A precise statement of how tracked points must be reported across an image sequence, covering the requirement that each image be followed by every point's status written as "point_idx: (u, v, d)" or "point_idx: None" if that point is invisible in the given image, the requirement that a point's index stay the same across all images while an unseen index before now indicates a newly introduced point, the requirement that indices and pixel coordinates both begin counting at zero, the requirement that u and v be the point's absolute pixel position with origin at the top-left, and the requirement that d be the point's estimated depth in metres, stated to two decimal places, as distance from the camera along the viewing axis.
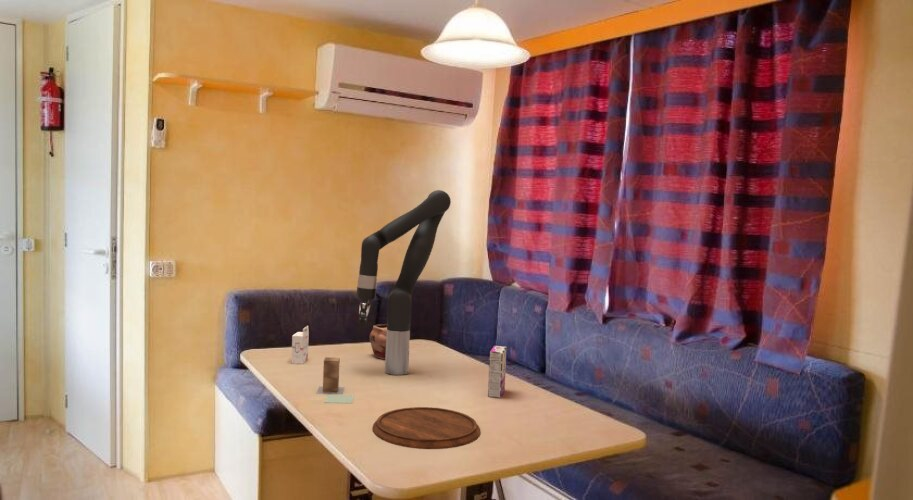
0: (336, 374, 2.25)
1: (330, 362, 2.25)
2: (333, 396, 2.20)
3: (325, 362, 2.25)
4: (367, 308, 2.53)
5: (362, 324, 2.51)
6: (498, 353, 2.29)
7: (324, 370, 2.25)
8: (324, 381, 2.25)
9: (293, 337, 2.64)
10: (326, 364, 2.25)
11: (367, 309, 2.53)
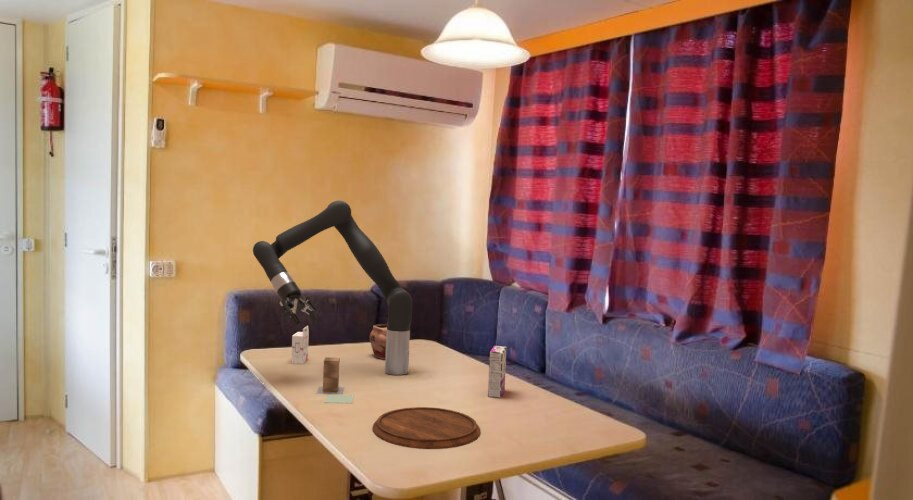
0: (336, 374, 2.25)
1: (330, 362, 2.25)
2: (333, 396, 2.20)
3: (325, 362, 2.25)
4: (293, 303, 2.32)
5: (294, 319, 2.28)
6: (498, 353, 2.29)
7: (324, 370, 2.25)
8: (324, 381, 2.25)
9: (293, 337, 2.64)
10: (326, 364, 2.25)
11: (293, 304, 2.32)
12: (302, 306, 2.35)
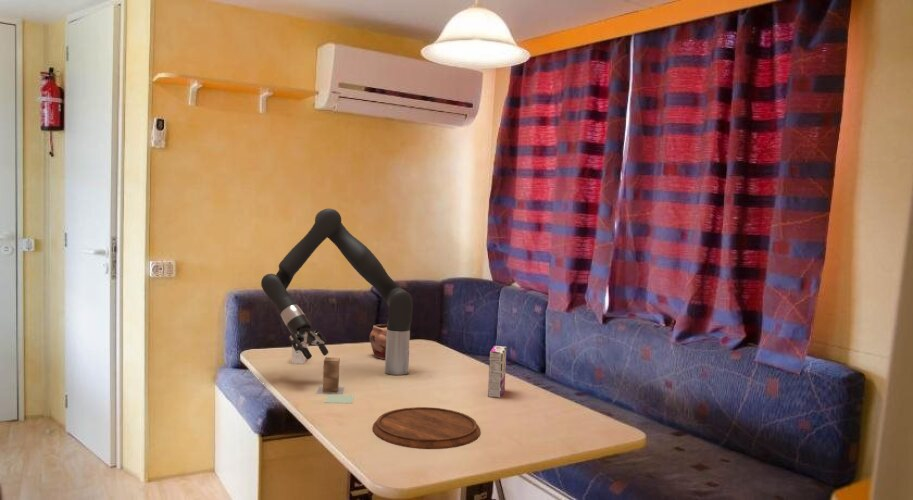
0: (336, 374, 2.25)
1: (330, 362, 2.25)
2: (333, 396, 2.20)
3: (325, 362, 2.25)
4: (303, 337, 2.30)
5: (305, 353, 2.26)
6: (498, 353, 2.29)
7: (324, 370, 2.25)
8: (324, 381, 2.25)
9: None
10: (326, 364, 2.25)
11: (303, 337, 2.30)
12: (312, 339, 2.33)
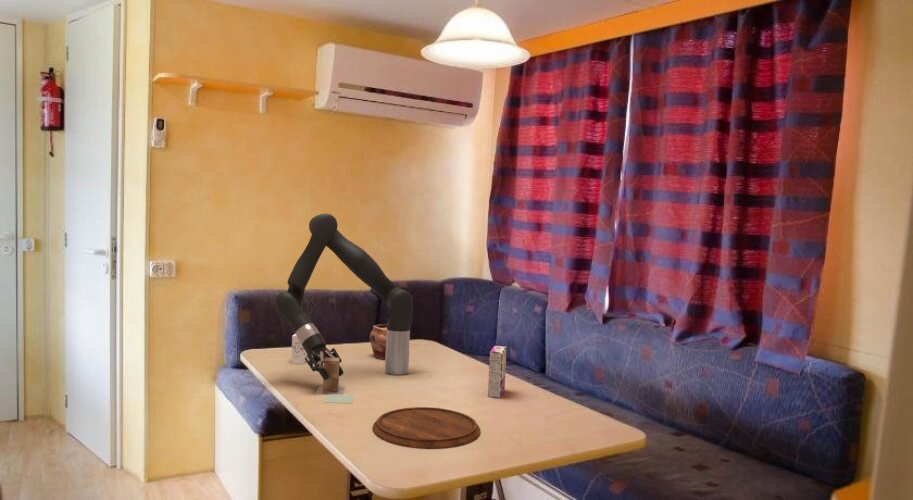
0: (336, 374, 2.25)
1: (330, 362, 2.25)
2: (333, 396, 2.20)
3: (325, 362, 2.25)
4: (319, 356, 2.26)
5: (322, 374, 2.23)
6: (498, 353, 2.29)
7: None
8: (324, 381, 2.25)
9: (293, 337, 2.64)
10: (326, 364, 2.25)
11: (319, 357, 2.26)
12: None
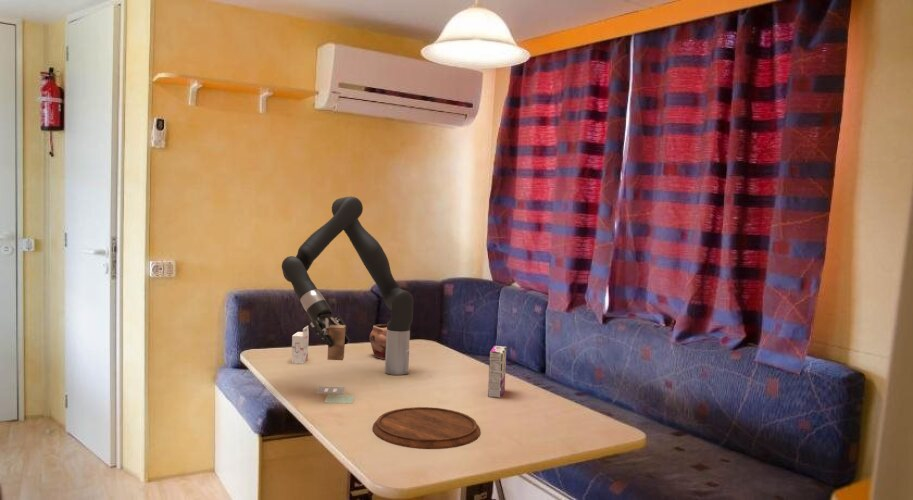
0: (341, 341, 2.17)
1: (336, 328, 2.17)
2: (333, 396, 2.20)
3: (330, 329, 2.17)
4: (324, 323, 2.19)
5: (327, 341, 2.15)
6: (498, 353, 2.29)
7: None
8: (329, 348, 2.17)
9: (293, 337, 2.64)
10: (331, 331, 2.17)
11: (324, 324, 2.19)
12: None
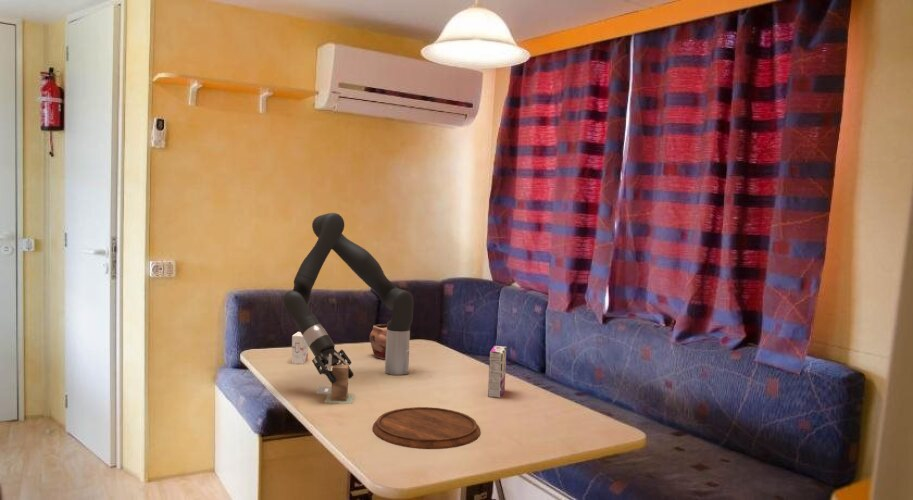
0: (345, 382, 2.15)
1: (339, 369, 2.15)
2: None
3: (333, 369, 2.15)
4: (327, 359, 2.16)
5: (330, 377, 2.13)
6: (498, 353, 2.29)
7: None
8: (332, 389, 2.15)
9: (293, 337, 2.64)
10: (334, 371, 2.15)
11: (327, 360, 2.16)
12: (337, 361, 2.19)
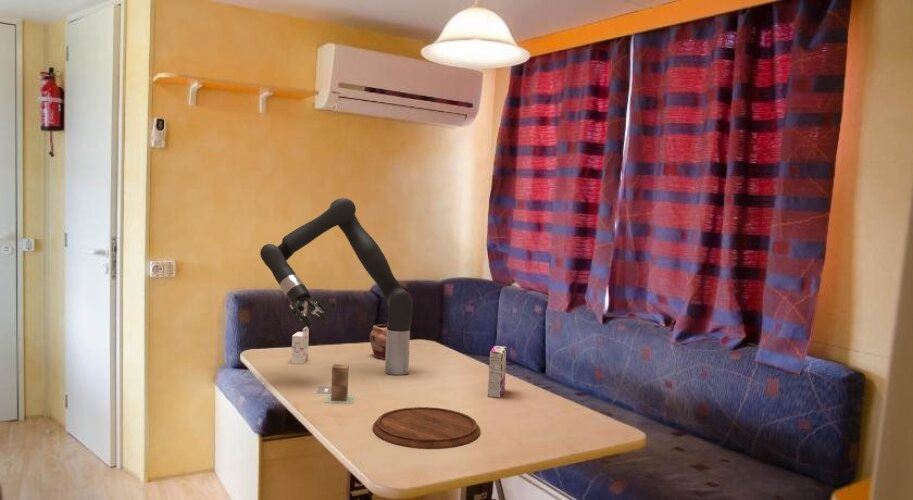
0: (345, 382, 2.15)
1: (339, 369, 2.15)
2: None
3: (333, 369, 2.15)
4: (303, 306, 2.30)
5: (305, 322, 2.27)
6: (498, 353, 2.29)
7: (332, 378, 2.15)
8: (332, 389, 2.15)
9: (293, 337, 2.64)
10: (334, 371, 2.15)
11: (303, 306, 2.30)
12: (312, 308, 2.33)
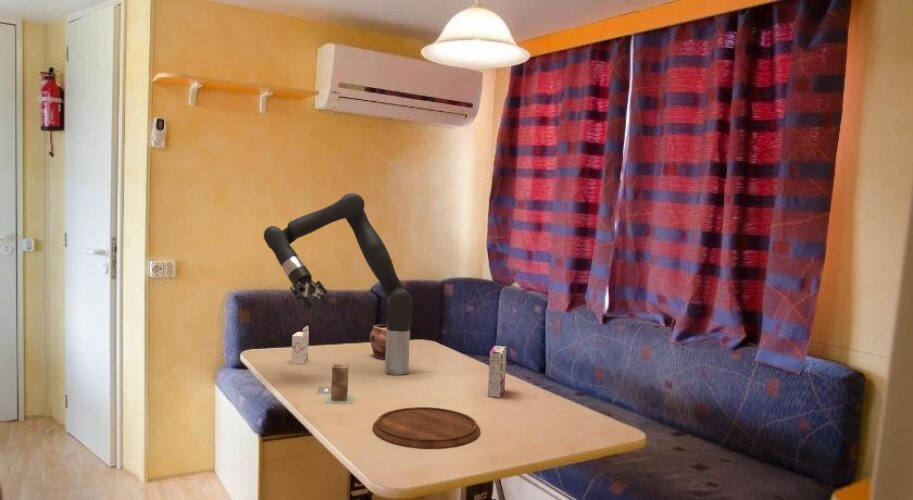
0: (345, 382, 2.15)
1: (339, 369, 2.15)
2: None
3: (333, 369, 2.15)
4: (304, 287, 2.33)
5: (306, 302, 2.30)
6: (498, 353, 2.29)
7: (332, 378, 2.15)
8: (332, 389, 2.15)
9: (293, 337, 2.64)
10: (334, 371, 2.15)
11: (304, 288, 2.33)
12: (313, 290, 2.36)
